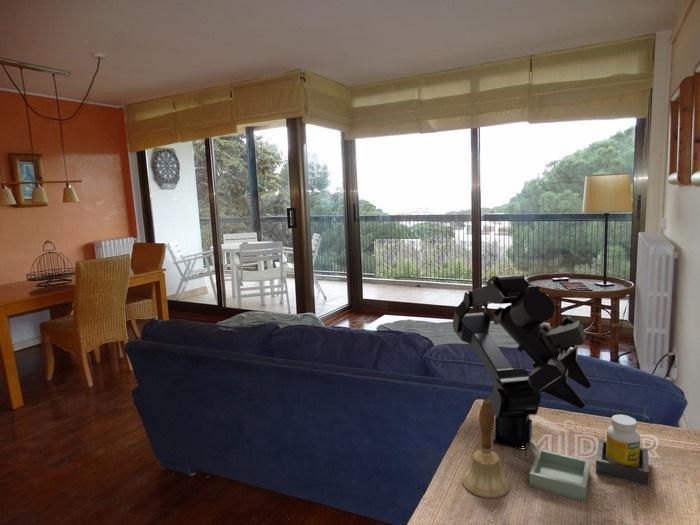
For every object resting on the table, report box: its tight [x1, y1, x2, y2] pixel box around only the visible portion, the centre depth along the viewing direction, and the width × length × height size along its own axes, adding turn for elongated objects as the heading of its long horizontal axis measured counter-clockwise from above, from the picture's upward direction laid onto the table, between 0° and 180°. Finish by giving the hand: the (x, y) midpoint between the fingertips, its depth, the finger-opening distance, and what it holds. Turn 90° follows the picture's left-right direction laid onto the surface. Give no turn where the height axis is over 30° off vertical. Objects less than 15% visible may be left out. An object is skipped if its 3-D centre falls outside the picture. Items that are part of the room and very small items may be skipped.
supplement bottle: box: [605, 414, 641, 468], centre depth 86 cm, size 5×5×10 cm
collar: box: [595, 439, 650, 486], centre depth 87 cm, size 8×8×2 cm
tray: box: [528, 448, 591, 502], centre depth 84 cm, size 9×9×2 cm
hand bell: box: [461, 398, 511, 499], centre depth 83 cm, size 8×8×16 cm
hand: (586, 396), depth 88 cm, fingers open, 9 cm apart
